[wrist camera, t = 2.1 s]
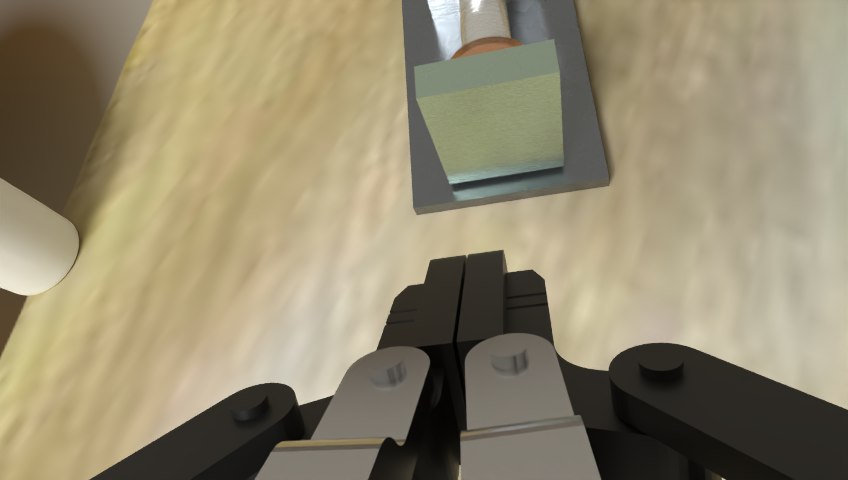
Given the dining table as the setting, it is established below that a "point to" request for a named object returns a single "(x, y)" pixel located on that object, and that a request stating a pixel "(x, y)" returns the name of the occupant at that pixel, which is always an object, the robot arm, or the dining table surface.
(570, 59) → the bearing block
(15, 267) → the mug
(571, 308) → the dining table surface
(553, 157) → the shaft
